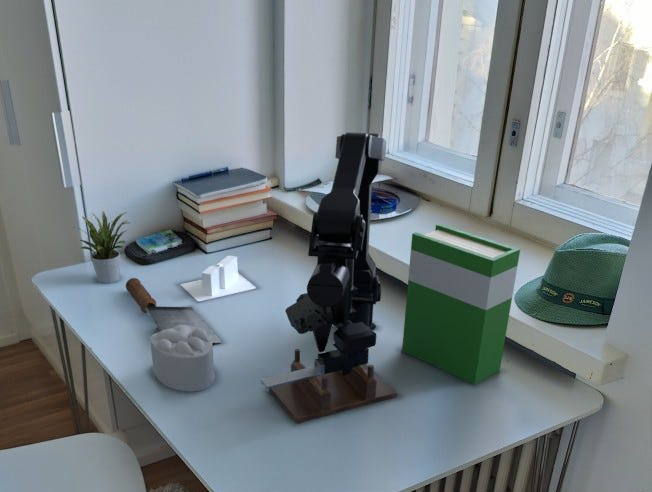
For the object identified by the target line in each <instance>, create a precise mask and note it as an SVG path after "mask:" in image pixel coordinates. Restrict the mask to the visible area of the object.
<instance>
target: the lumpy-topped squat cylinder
mask: <svg viewBox="0 0 652 492" xmlns="http://www.w3.org/2000/svg"><path fill="white" fill-rule="evenodd" d="M149 344H150V352H151V353H150V354H151V361H152V369H153V375H154V376H155V377H156V378H157V380H158V381H159V382H160V383H162V384H163V385H164V386H166V387H167V388H169V389H173V390H177V391H181V392H200V391H204V390H206V389H208V388H210V386H212V384H213V383H214V381H215V363H214V362H215V361H214V349H213V346H214V345H213V343H212V340H211V338H210V337H209V336H208V335H207V334H206V332H205V330H204V329H202V328H196V327H194V326H188V325H178V326H176V327H174V328H171V329H166V330H162V331H160V330H159V332H156V333H153V334H152V335H151V336H150V338H149Z"/></svg>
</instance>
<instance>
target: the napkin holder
mask: <svg viewBox="0 0 652 492" xmlns="http://www.w3.org/2000/svg"><path fill="white" fill-rule="evenodd" d="M238 265H239V264H238V256H235V255H227V256H225V257H224V258H223V259H222V260H220V262H218V263H216V265H209V266H208V267H206V268H205V269H204V270H203V271H202V272H201V279H198V280H193V281H188V282H184V283H180V286H181V287H182V288H183V289H184V290H185V291H186V292H187V293H188V294H189V295H190V296H191V297H193V298H194V299H195V301H197V302H203V301H207V300H208V301H209V300H212V299H217V298H221V297H225V296H229V295H233V294H239V293H242V292H247V291H251V290H256V289H257V286H255V285H254V284H252V282H250V281H248V279H246V278H245V277H244V276H243V275H242V274H241V273H239V269H238V268H239V267H238Z"/></svg>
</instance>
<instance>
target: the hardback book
mask: <svg viewBox="0 0 652 492" xmlns="http://www.w3.org/2000/svg"><path fill="white" fill-rule="evenodd" d="M410 243H411V244H410V253H409V254H410V257H409V267H408V277H407V278H408V279H407V290H406V301H405V313H404V325H403V336H402V347H401V351H403V352H405V353H407V354H409V355H411V356H413V357H415V358H418V359H419V360H422V361H424V362H426V363H428V364H430V365H432V366H434V367H436V368H439V369H441V370H442V371H445V372H447V373H449V374H451V375H453V376H456V377H458V378H459V379H462V380H464V381H466V382H468V383H470V384H472V385H477V384H478V383H480V382H482V381H484V380H486V379H488V378H489V377H491V376H493V375H495V374H497V373H499V372H501V364H502V360H503V353H504V349H505V342H506V336H507V329H508V323H509V318H510V312H511V307H512V301H513V296H514V290H515V289H514V288H515V282H516V276H517V271H518V266H519V261H520V260H519V259H520V254H521V248H517V247H514V246H511V245H508V244H505V243H502V242H499V241H497V240H492V239H490V238H486V237H483V236H480V235H476V234H474V233H470V232H467V231H464V230H461V229H457V228H454V227H452V226H448V225H445V224H441V223H437V224H435V229H434V230H432V231H430V232H427V233H424V234H422V233H420V232H413V233H411V242H410Z"/></svg>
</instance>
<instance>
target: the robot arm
mask: <svg viewBox="0 0 652 492" xmlns="http://www.w3.org/2000/svg"><path fill="white" fill-rule="evenodd" d="M386 140H387V139H385V137H381V133H376V132H345V133H341V135H337V136H336V145H335V155H334V157H335V159H337V160H338V161H337V166H336V170H335V173H334V177H333V183H332V187H331V190H330V192H329V193H327V194H326V195H324V196H323V197H322V198H321V199H320V202H319V204H318V208H317V211H315V212H314V213H313V215H312V222H311V231H310V238H309V245H308V253H307V255H308V257H317V263H316V265H315V267H314V269H313V272H312V274H311V276H310V278H309V280H308V281H307V285H306V293H301V294H300V295H299V296H298V297H297V299H296V300H295V302H294V303H293V304H291V305H289V306H288V307H286V308H285V314H286V316H287V319H288V321H289V324H290V326H291V327H292V328H293V329H294V330H295V331H296V332H297V333H298V334H299V335H304V334H306V333H308V332H310V333H311V332H312V335H313V339H314V342H315V345H316V348H317V351H318V353H324V352H326V351H325V350H326V348H327V345H328V342H329V339H330V335H331V332H332V328H333V326H334V327H335V328H336V330H335V331H334V332H333V336H332V337H333V338H332V339H333V342H334V343H333V344H332V346H333V347H334V348H336V349H338V350H339V351H340V358H341V369H342V374H343V375H344V376H345V375H348V374H349V373H350V371H351V370H352V368H353V367H354V365H355V363H356V362H357V360H358V359H359V357H360V356H361V354H362V353H363V352H364V350H365V349H366V348H368V349H369V348H371V347H375V346H376V344H377V333H376V332H375V331H374V329H376V328H377V324H375V323H374V322H373V317H374V305H376V304H377V303H378V302H381V299H382V283H381V282H380V279H379V275H376V269H377V268H376V267H377V265H376V262H375V261H374V259H373V258H372V256H371V254H370V251H369V250H370V231H371V229H370V228H371V208H372V191H373V190H372V189H373V182H374V180H375V179H376V177H377V175H378V174H379V172H380V169H381V167H382V164H383V163H382V162H384V161H385V159H386V154H387V153H386V152H387V141H386ZM317 241H318V242H320V243H327V244H317Z"/></svg>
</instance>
